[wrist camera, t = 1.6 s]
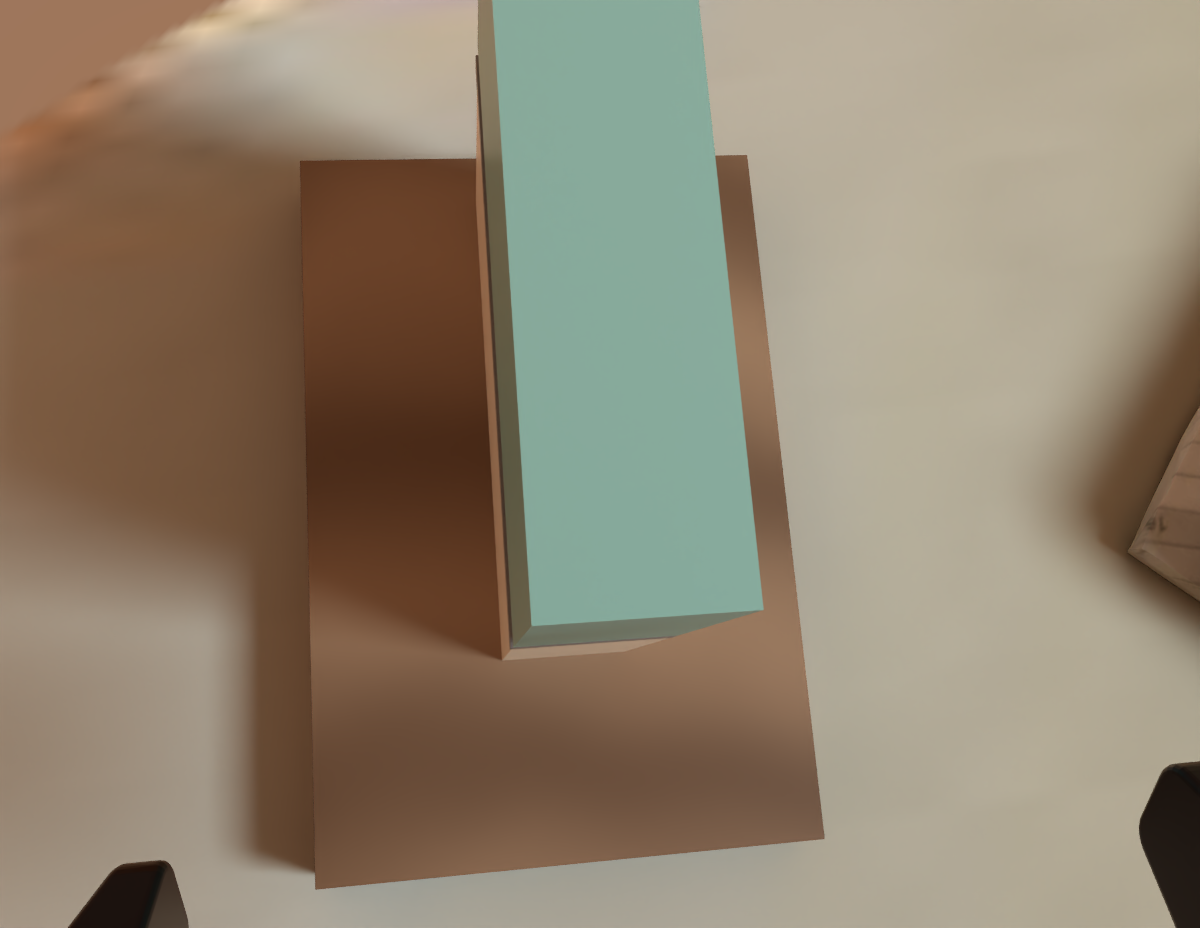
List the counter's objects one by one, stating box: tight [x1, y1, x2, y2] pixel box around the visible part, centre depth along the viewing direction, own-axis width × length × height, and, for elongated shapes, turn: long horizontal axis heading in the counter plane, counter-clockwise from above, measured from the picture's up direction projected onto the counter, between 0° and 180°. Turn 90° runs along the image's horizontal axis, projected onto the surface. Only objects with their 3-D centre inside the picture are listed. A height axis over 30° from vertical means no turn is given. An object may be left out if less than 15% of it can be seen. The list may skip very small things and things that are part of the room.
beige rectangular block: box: [476, 55, 676, 660], centre depth 20 cm, size 10×3×6 cm, turn 4°
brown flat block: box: [300, 155, 824, 889], centre depth 23 cm, size 15×10×2 cm, turn 4°
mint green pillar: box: [478, 0, 764, 647], centre depth 15 cm, size 10×2×5 cm, turn 4°
